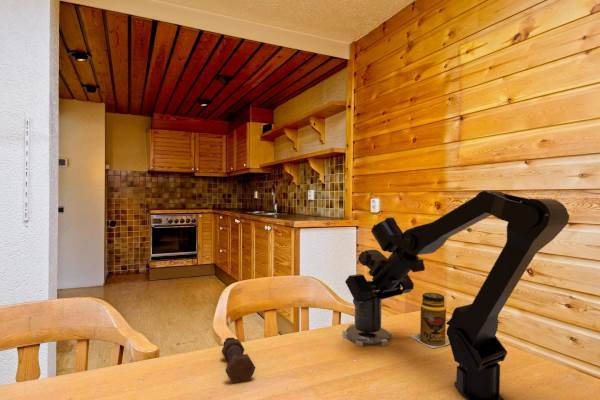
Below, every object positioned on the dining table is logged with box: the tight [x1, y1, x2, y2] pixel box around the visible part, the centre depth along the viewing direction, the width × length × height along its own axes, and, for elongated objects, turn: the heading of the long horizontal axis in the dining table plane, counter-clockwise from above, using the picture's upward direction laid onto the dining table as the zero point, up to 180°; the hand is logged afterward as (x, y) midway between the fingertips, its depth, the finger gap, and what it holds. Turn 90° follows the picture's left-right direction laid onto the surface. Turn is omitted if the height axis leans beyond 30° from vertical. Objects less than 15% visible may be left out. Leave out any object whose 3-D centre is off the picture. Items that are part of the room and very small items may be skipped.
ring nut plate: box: [342, 323, 393, 347], centre depth 94 cm, size 13×12×1 cm
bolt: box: [221, 337, 256, 385], centre depth 77 cm, size 6×5×15 cm
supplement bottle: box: [354, 279, 383, 333], centre depth 94 cm, size 7×7×12 cm
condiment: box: [408, 292, 450, 349], centre depth 92 cm, size 7×8×12 cm
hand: (364, 301), depth 95 cm, fingers closed on supplement bottle, 7 cm apart
